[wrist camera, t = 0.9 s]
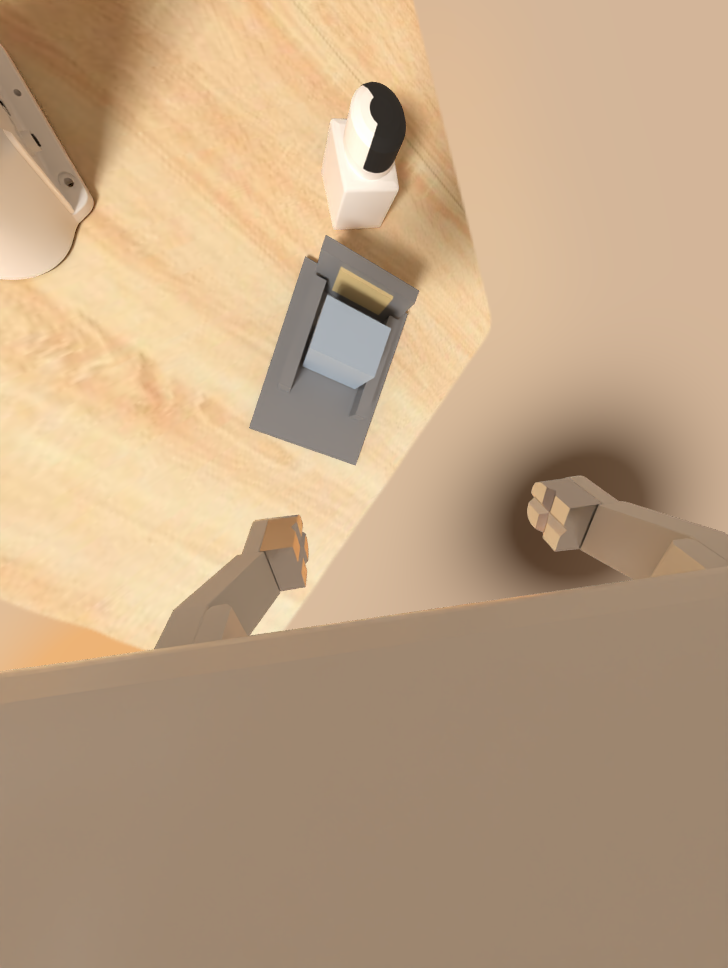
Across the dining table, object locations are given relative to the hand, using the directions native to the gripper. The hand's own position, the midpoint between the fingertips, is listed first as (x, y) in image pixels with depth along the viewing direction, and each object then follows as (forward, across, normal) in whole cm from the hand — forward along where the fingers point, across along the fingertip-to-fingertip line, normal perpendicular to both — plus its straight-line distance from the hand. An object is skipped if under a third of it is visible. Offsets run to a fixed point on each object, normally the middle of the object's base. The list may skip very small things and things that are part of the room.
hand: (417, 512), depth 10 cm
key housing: (+38, +4, +3) cm, 38 cm away
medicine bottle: (+48, -2, -17) cm, 51 cm away
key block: (+38, +3, +1) cm, 38 cm away
